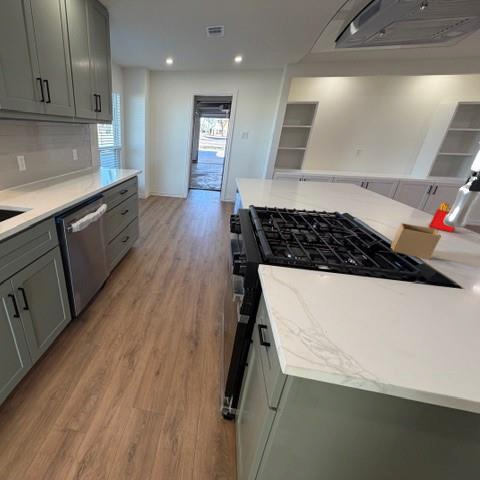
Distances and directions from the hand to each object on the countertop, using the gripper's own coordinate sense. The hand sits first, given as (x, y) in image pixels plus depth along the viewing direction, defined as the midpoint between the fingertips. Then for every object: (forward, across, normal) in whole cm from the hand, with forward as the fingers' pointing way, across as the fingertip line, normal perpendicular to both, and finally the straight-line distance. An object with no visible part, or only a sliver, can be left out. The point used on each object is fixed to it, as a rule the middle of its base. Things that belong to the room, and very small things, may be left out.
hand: (471, 189), depth 97 cm
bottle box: (+28, -8, +10) cm, 31 cm away
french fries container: (+29, +50, -7) cm, 58 cm away
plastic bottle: (+16, 0, 0) cm, 16 cm away
